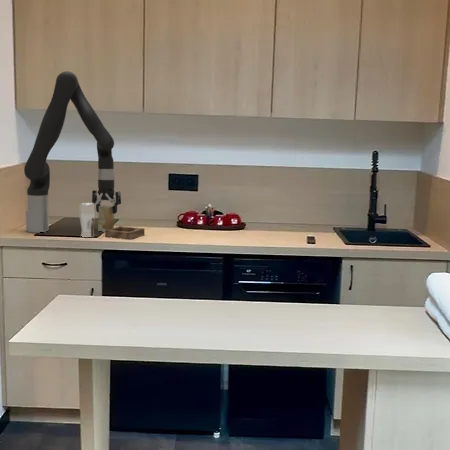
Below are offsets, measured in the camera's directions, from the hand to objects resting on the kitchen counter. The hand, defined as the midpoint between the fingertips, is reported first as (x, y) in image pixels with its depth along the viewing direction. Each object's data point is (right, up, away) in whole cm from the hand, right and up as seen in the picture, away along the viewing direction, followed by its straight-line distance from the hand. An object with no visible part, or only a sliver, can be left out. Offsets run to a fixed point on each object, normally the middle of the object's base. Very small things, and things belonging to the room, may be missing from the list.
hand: (106, 212), depth 291 cm
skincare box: (-1, -9, +2) cm, 9 cm away
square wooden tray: (+10, -11, -7) cm, 16 cm away
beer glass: (-6, -11, -12) cm, 17 cm away
